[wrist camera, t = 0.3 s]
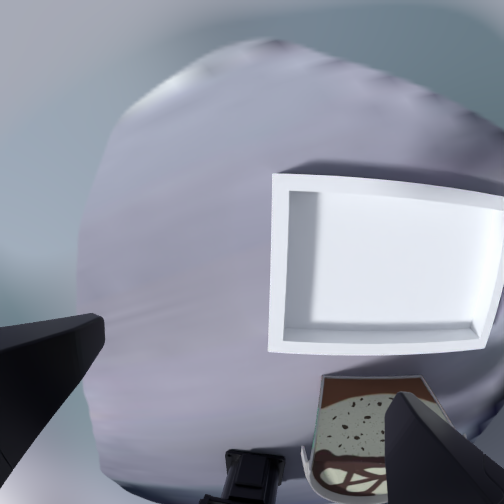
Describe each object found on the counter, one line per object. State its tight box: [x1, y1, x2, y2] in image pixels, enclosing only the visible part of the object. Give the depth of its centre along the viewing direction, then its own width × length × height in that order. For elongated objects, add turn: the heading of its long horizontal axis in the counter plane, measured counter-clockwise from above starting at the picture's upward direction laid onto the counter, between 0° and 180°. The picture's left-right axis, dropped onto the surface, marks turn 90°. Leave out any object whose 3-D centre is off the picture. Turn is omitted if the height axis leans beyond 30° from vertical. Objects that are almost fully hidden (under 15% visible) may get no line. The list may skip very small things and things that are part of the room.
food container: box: [301, 375, 467, 504], centre depth 18 cm, size 12×6×10 cm, turn 89°
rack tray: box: [268, 173, 504, 356], centre depth 19 cm, size 12×18×2 cm, turn 90°
